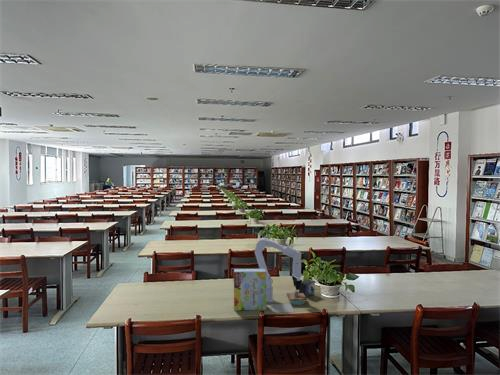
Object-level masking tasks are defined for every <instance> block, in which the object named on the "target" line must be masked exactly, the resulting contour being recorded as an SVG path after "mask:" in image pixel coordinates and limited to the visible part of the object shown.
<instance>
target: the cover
mask: <svg viewBox="0 0 500 375" xmlns="http://www.w3.org/2000/svg"><path fill="white" fill-rule="evenodd" d="M286 297H287V299H288V301H289V300H305V301H307V299H308V298H307V297H305V295H304V293H299V290H294V292H293V293H292V292H286Z"/></svg>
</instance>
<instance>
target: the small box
mask: <svg viewBox="0 0 500 375" xmlns="http://www.w3.org/2000/svg"><path fill="white" fill-rule="evenodd" d="M315 282H316V281H314V280H312V279H304V280H302V282H301V284H300V288H299V290H298V291H299V293H304V295H305V297H306V298H308V297H312V296H315V285H316V284H315Z"/></svg>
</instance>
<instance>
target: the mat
mask: <svg viewBox="0 0 500 375" xmlns="http://www.w3.org/2000/svg"><path fill="white" fill-rule="evenodd" d="M269 305H270V308H271V313H294V309H293V307H292V304H290V303H270V304H269Z"/></svg>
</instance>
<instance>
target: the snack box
mask: <svg viewBox="0 0 500 375" xmlns="http://www.w3.org/2000/svg"><path fill="white" fill-rule="evenodd" d="M233 310H234V311H266V310H267V302H266V269H260V268H234V269H233Z"/></svg>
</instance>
